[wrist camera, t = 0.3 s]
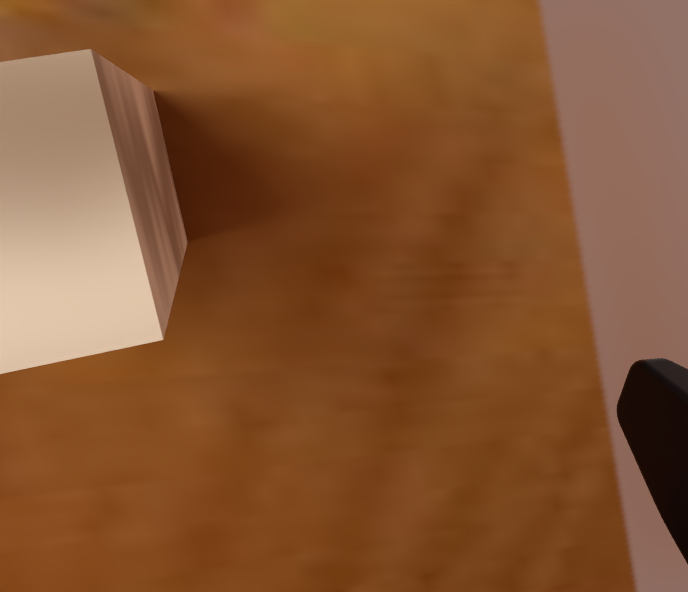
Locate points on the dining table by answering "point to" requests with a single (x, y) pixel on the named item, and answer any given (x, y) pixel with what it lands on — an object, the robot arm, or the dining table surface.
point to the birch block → (82, 211)
